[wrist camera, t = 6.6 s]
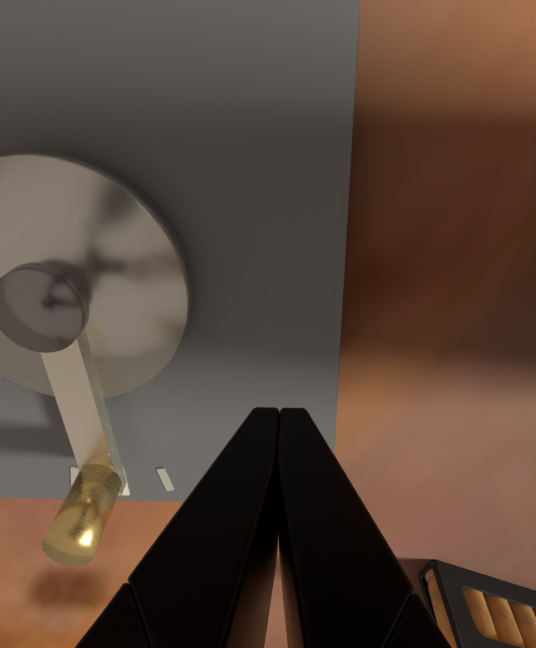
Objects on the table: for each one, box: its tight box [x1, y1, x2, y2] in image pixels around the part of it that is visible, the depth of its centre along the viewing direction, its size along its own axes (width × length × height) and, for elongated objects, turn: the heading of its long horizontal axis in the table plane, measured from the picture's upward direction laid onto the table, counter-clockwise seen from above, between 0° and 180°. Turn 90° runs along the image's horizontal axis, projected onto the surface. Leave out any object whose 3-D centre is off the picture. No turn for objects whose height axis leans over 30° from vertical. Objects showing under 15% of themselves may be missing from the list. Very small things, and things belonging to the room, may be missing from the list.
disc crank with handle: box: [0, 150, 193, 566], centre depth 18 cm, size 15×10×6 cm, turn 3°
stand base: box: [0, 0, 360, 502], centre depth 20 cm, size 26×22×1 cm
